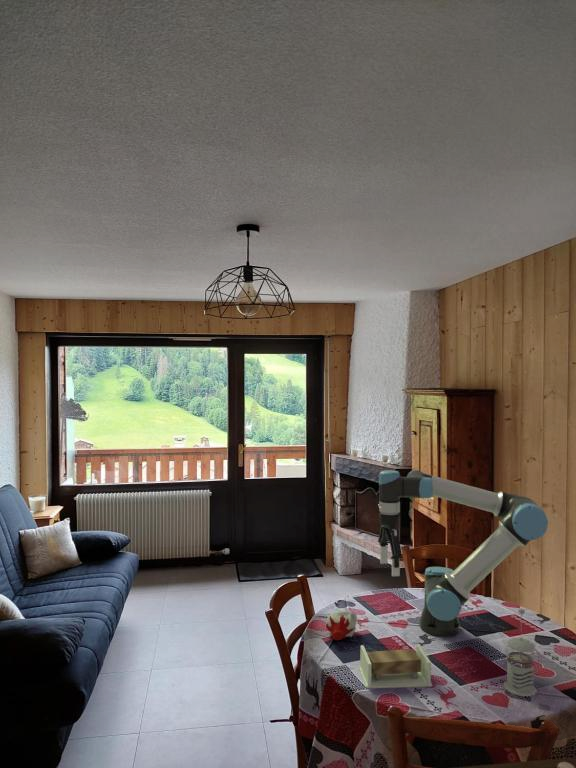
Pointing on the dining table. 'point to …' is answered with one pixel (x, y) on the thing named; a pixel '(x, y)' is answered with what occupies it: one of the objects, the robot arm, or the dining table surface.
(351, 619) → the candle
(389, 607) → the dining table surface
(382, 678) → the shelf frame
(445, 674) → the dining table surface
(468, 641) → the dining table surface
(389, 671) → the brown long block
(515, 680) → the french press
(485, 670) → the dining table surface
